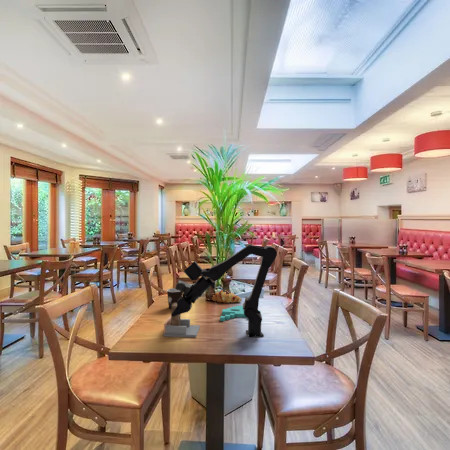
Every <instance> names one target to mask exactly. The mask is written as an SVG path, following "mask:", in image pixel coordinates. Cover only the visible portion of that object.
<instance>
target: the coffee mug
mask: <svg viewBox="0 0 450 450" xmlns="http://www.w3.org/2000/svg"><path fill="white" fill-rule="evenodd" d="M166 292H167V293H166V295H167V303H168V309H169V310H171V306H172V305H173V303H177V301H178V300H179V299H180V298H181V297H182V296H183V292H182V291H180V290H177V289H175V287H174V288H173V287H172V288H168V289H167V290H166Z"/></svg>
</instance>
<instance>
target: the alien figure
mask: <svg viewBox="0 0 450 450" xmlns="http://www.w3.org/2000/svg"><path fill="white" fill-rule="evenodd" d="M259 311H260V312H262V311H261V310H259ZM235 318H245V319H246V318H247V317H246V316H245V315H244V309H243V305H236V306H232V307H227V308H223V309H222V310H221V315H220V317H219V321H220V322H225V321H226V320H227V321H230V320H231V319H235ZM247 320H248V318H247Z"/></svg>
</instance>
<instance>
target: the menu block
mask: <svg viewBox="0 0 450 450" xmlns="http://www.w3.org/2000/svg"><path fill="white" fill-rule="evenodd" d="M176 307H177V303H173V305H172V306H171V309H170V311H171V313H170V314H172V313H173V311H174V310H175V309H176ZM170 316H171V315H170ZM181 316H182V314H179V315H176V316H173V317H172V316H171V325H175V326H180V319H181Z"/></svg>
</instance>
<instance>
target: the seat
mask: <svg viewBox="0 0 450 450" xmlns="http://www.w3.org/2000/svg"><path fill="white" fill-rule="evenodd" d="M200 328H201V325H199V324H198V325H197V324H194V325H193V324H191V319H190V318H180V326H175V325H171V315H170V316H169V317H168V318H167V319H166V320H165V322H164V323H163V335H162V336H163V337H171V338H172V337H173V338H174V337H175V338H197V336H198V334H199V331H200Z"/></svg>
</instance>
